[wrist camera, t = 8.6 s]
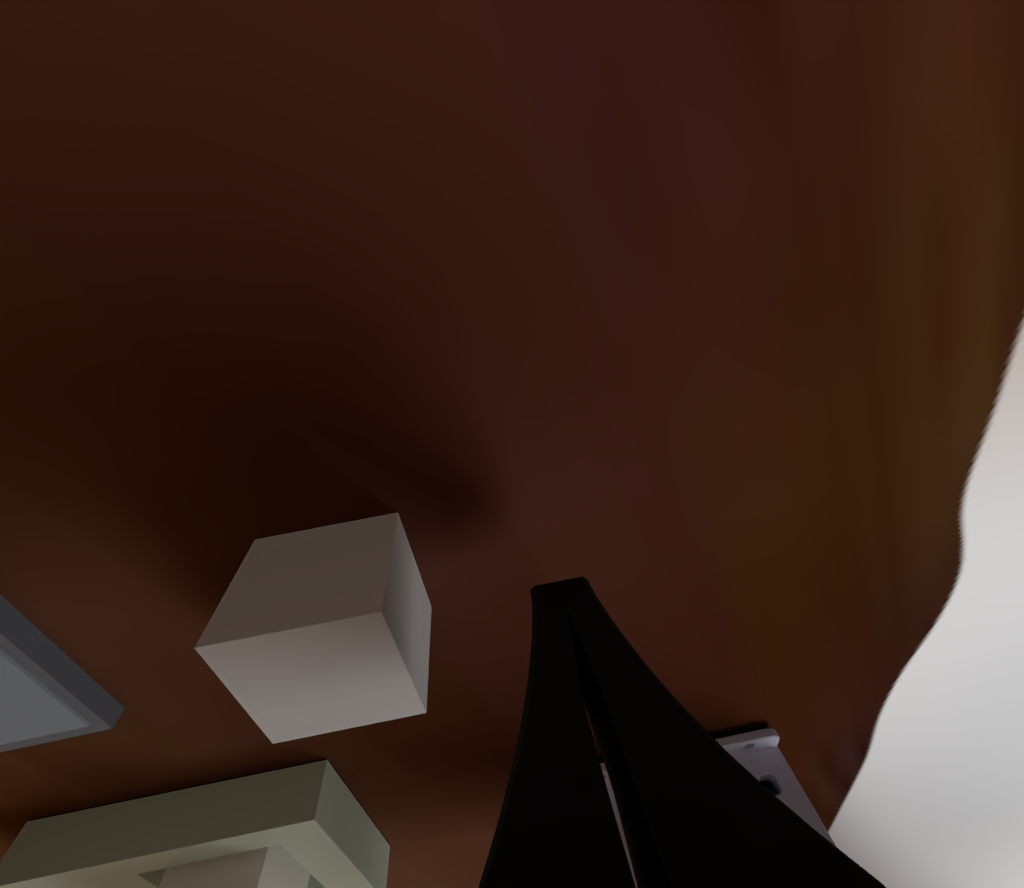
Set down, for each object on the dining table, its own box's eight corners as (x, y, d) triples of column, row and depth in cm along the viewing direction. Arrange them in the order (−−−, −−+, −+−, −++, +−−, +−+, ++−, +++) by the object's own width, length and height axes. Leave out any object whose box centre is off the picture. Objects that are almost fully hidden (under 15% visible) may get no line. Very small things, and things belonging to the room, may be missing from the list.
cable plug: (398, 510, 13) (381, 612, 10) (431, 604, 15) (426, 712, 12) (220, 543, 12) (147, 657, 9) (279, 633, 14) (233, 751, 11)
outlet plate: (327, 759, 18) (313, 823, 16) (389, 846, 23) (384, 903, 21) (26, 821, 18) (-22, 893, 16) (152, 896, 22) (125, 959, 21)
